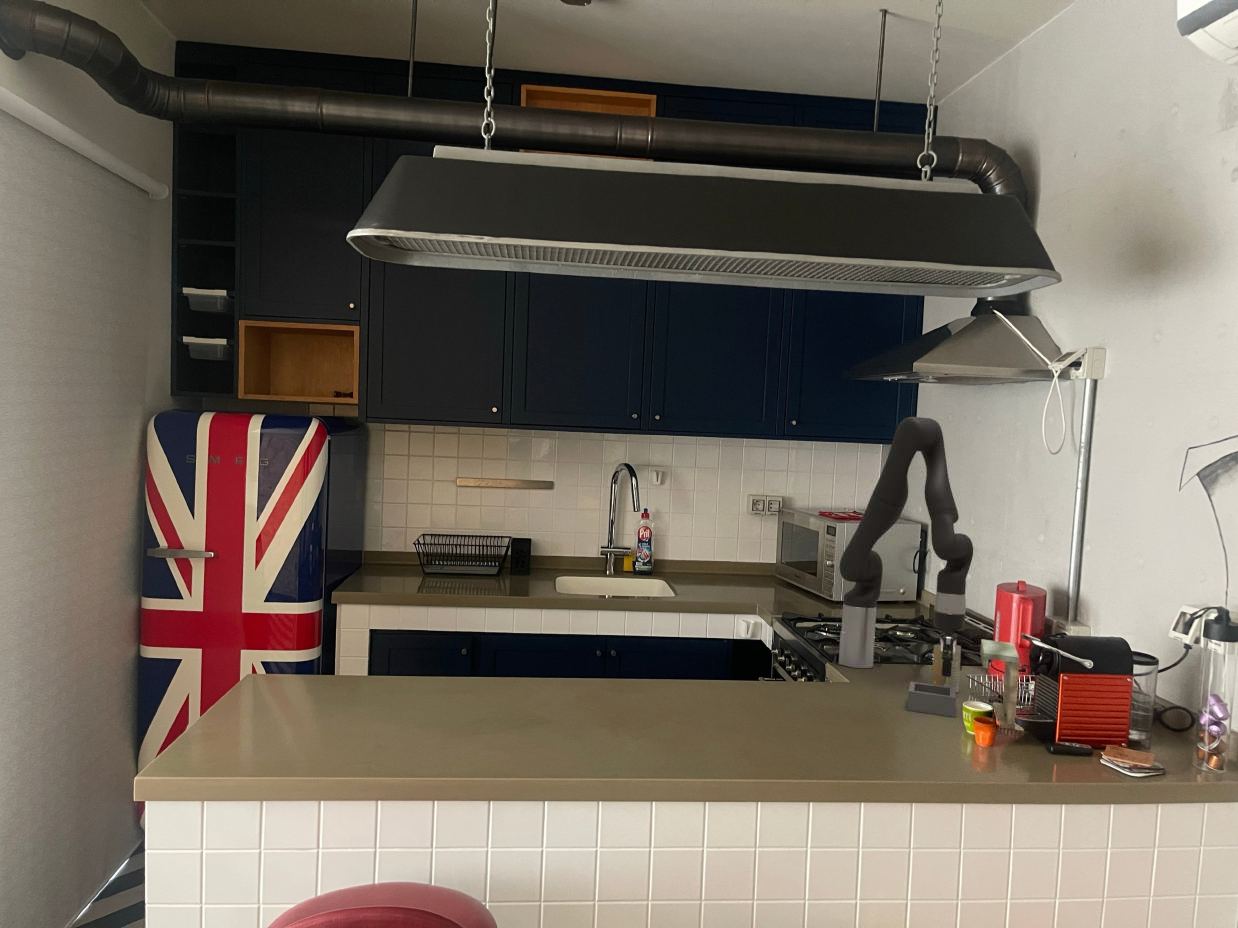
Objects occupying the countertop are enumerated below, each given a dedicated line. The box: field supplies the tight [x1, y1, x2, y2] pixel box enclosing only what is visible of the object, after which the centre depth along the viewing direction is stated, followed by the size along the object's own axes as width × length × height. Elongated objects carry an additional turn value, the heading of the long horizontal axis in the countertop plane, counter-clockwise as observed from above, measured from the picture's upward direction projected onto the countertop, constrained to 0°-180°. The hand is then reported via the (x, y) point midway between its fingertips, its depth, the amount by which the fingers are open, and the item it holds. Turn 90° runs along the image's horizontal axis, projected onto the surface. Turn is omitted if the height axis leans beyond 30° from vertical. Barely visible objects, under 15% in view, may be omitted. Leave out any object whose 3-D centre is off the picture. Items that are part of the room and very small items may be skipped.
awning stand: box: [979, 638, 1025, 732], centre depth 202 cm, size 10×18×16 cm, turn 159°
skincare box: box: [931, 643, 962, 693], centre depth 224 cm, size 6×4×12 cm
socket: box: [907, 681, 957, 718], centre depth 207 cm, size 10×10×4 cm
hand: (946, 672), depth 223 cm, fingers open, 8 cm apart
